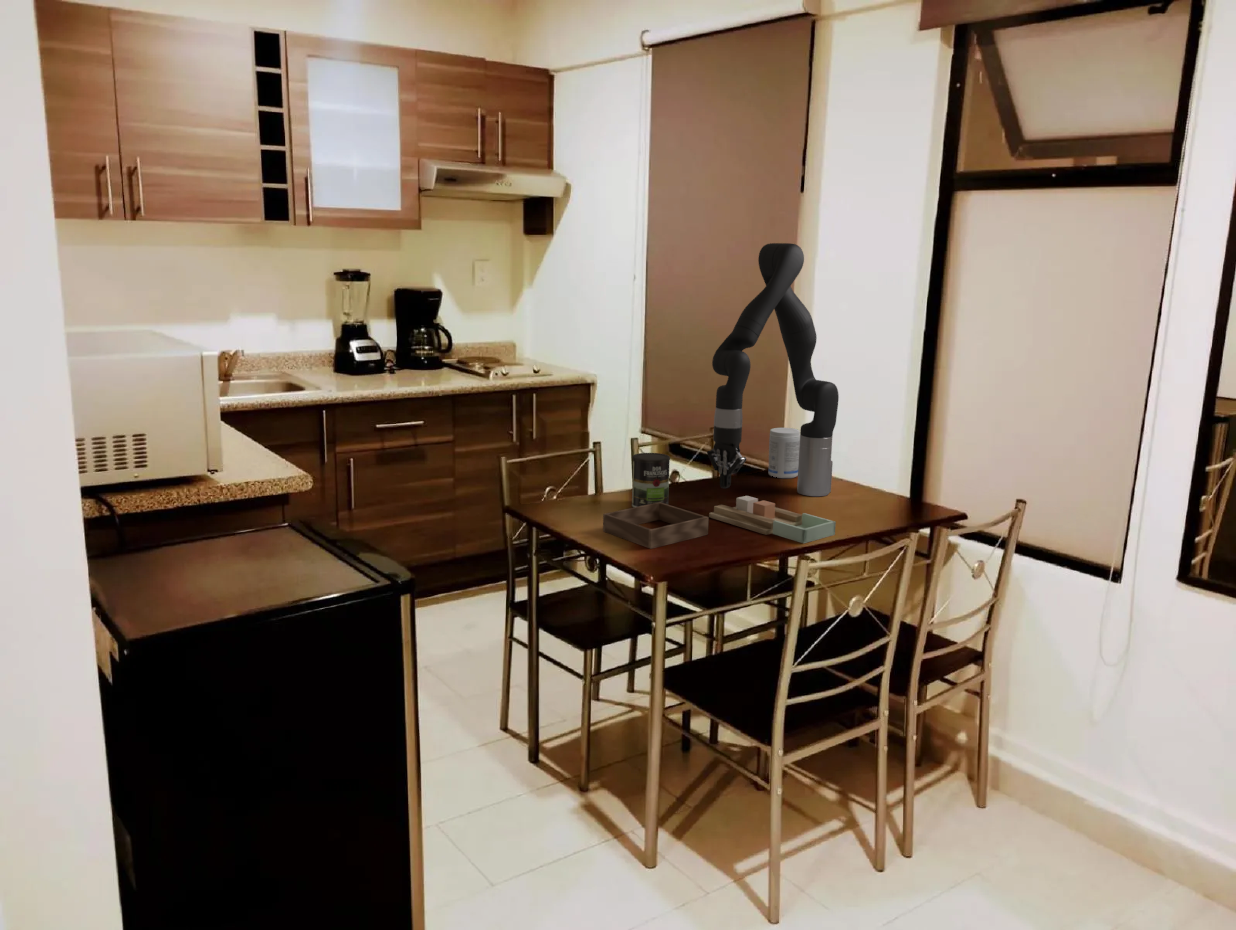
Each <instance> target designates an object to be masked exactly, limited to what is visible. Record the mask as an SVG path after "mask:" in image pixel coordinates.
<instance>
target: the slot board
mask: <svg viewBox="0 0 1236 930" xmlns="http://www.w3.org/2000/svg"><path fill="white" fill-rule="evenodd" d="M708 517H709V518H711V519H713V520H717V521H721V522H724V523H727V524H731V525H733V526H737V527H740V528H743V529H747V530H750V531H753V532H756V533H759V534H763V535H770V534H773V521H775V520H776V521H780V522H783V523H786V524H790V525H793V526H799V525H802V514H801V513H797V512H794V511H790V510H787V509H783V508H779V507H776V506H775V518H773V519H770V518H766V517H763V516H759V515H756V514H752V513H749V512H746V511H742V510H739V509H736V506H733V507H731V506H728V505H724V504H719V505H714V506H713V511H712V512H711V511H710V512H709V514H708Z"/></svg>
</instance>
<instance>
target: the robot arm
mask: <svg viewBox="0 0 1236 930" xmlns="http://www.w3.org/2000/svg"><path fill="white" fill-rule="evenodd" d="M757 260H758V268H759V271H760V274H761V277H762V279H763V282H764V284H765V286H764V288H763V289H762V290H761V291H760V292H759V293H758V294H757V295H756V296H755V297H754V298H753V299H752V300H750V302H749V303H748V304H747V305H746V306H745V308H743V310H742V312H741V313H740V315H739V317H738V319H737V321H736V323H735V325H734V327H733V329H732V331H731V332H730V334H729V335H727V337H726V338H725V339H724V340H723V342H722V343H721V344H720V345H719V346H718V348H716V350H715V352H714V354H713V357H712V360H711V361H712V363H711V366H712V370H713V371H714V372H715V373H716V374H717V375H719V376H724V377H727V381H726V383H725V384H723V385H719V386H718V388H717V390H716V394H715V397H716V398H715V410H714V416H713V433H712V434H713V435H712V436H713V437H712V440H713V442H714V444H713V448H712V449H710V450H708V451H706V454H707V456H708V459H709V461H710V463H711V465H712V468H713V470H714V471H717V472H718V473H719V486H720V488H721V489H729V488H730V486H731V485H732V484H731V483H732V475H734V474H737V473H738V472H739V470H740V469H742V467H743V466H744V464H745V462H747V458H746V457H745V456H742V454H741V449H740V448H741V447H740V443H741V442H742V434H743V433H742V432H743V419H744V418H743V398H744V397H743V396H744V391H745V390H746V389H745V388H746V386H747V381H748V379H749V375H750V373H751V360H750V357H749V355H748V354H747V353H746V352H745V351H744V350H746V349H748V348H752V347H754V346H755V345H756V343H757V342H758V341H759V337H760V336H761V334H762V331H763V330H764V328H765V326H766V324H767V322H768V320H769V318H770V316H771V315H772V313H773V311H774V312H775V316H776V319H777V322H778V327H779V331H780V335H781V337H782V341H783V345H784V347H785V351H786V354H787V358H788V362H789V363H788V364H789V367H790V371H791V377H792V383H793V387H794V388H793V389H794V394H795V399H796V401H797V404H798V406H799V407H800V408H801V409H802V410H804V411H807V412H812V413H813V418H812V420H811V421H810V422H807V423H803V424H802V425H801V426H800V429H799V430H800V448H799V465H798V476H797V486H796V493H798V494H799V495H803V496H808V497H809V496H810V497H825V496H827V495H829V493H831V491H832V478H833V464H834V463H833V460H832V453H833V452H832V450H833V435H834V429H835V427H836V424H837V414H838V407H839V398H840V397H839V395H840V394H839V390H838V387H837V386H836V384H835V383H833V382H831V381H827V380H820V379H816V377H815V375H814V372H813V367H812V357H813V355H814V352H815V348H816V346H817V345H816V344H817V332H816V328H815V325H814V321H813V317H812V315H811V312H810V311H809V309H808V308H807V307H806V305H805V304H804V303H803V302H802V301H801V299H800V298H799V297H798V296H797V294H796V293H795V292H794V290H793V288H792V287H791V286H792V284H793V283H794V282H795V280H796V279H797V278H798V276H799V275H800V273H801V271H802V269H803V266H804V263H805V255H804V251H803V249H802V247H800V246H799V245H798V244H795V243H789V242H788V243H787V242H777V243H776V242H773V243H771V242H770V243H766V244H765V245H763V246H762V247H761V249H760V250H759V253H758V259H757Z"/></svg>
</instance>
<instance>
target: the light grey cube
mask: <svg viewBox="0 0 1236 930" xmlns="http://www.w3.org/2000/svg"><path fill="white" fill-rule="evenodd" d="M758 501H759V498H756V497H753V496H749V495H745V496H744V495H743V496H739V497H736V500H735V504H736V505H735V507H736V509H739V510H742V511H746V512H749V513H752V514H753V503H754V502H758Z"/></svg>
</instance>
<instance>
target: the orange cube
mask: <svg viewBox="0 0 1236 930" xmlns="http://www.w3.org/2000/svg"><path fill="white" fill-rule="evenodd" d="M775 507H776V503H775V502H771V501H767V500H760V501H759V500H758V502H754V503H753V514H756V515H759V516H763V517H766V518H770V519H773V518H775Z"/></svg>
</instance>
